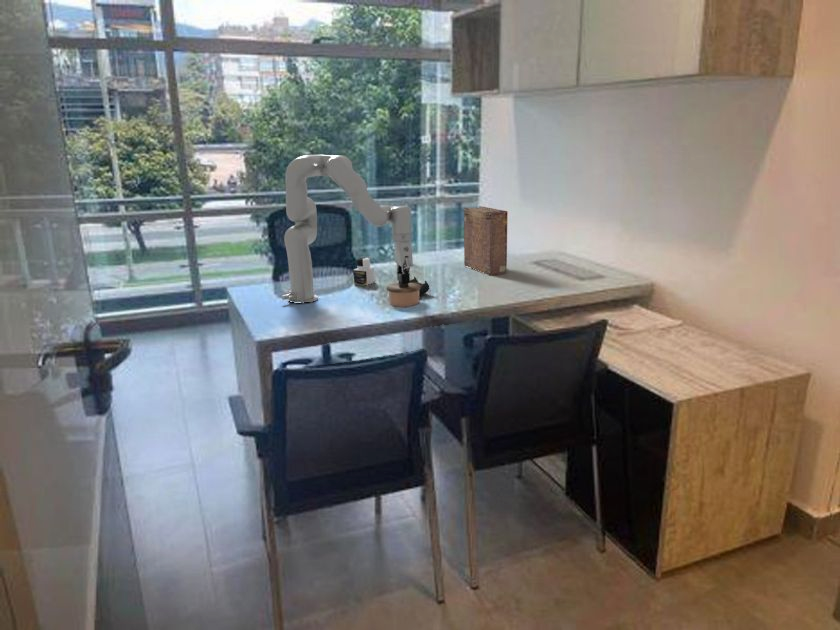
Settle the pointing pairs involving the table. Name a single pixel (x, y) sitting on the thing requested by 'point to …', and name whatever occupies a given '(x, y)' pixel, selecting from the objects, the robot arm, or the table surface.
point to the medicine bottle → (363, 272)
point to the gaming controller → (423, 286)
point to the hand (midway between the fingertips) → (403, 281)
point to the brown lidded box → (485, 239)
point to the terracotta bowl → (404, 298)
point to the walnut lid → (403, 286)
